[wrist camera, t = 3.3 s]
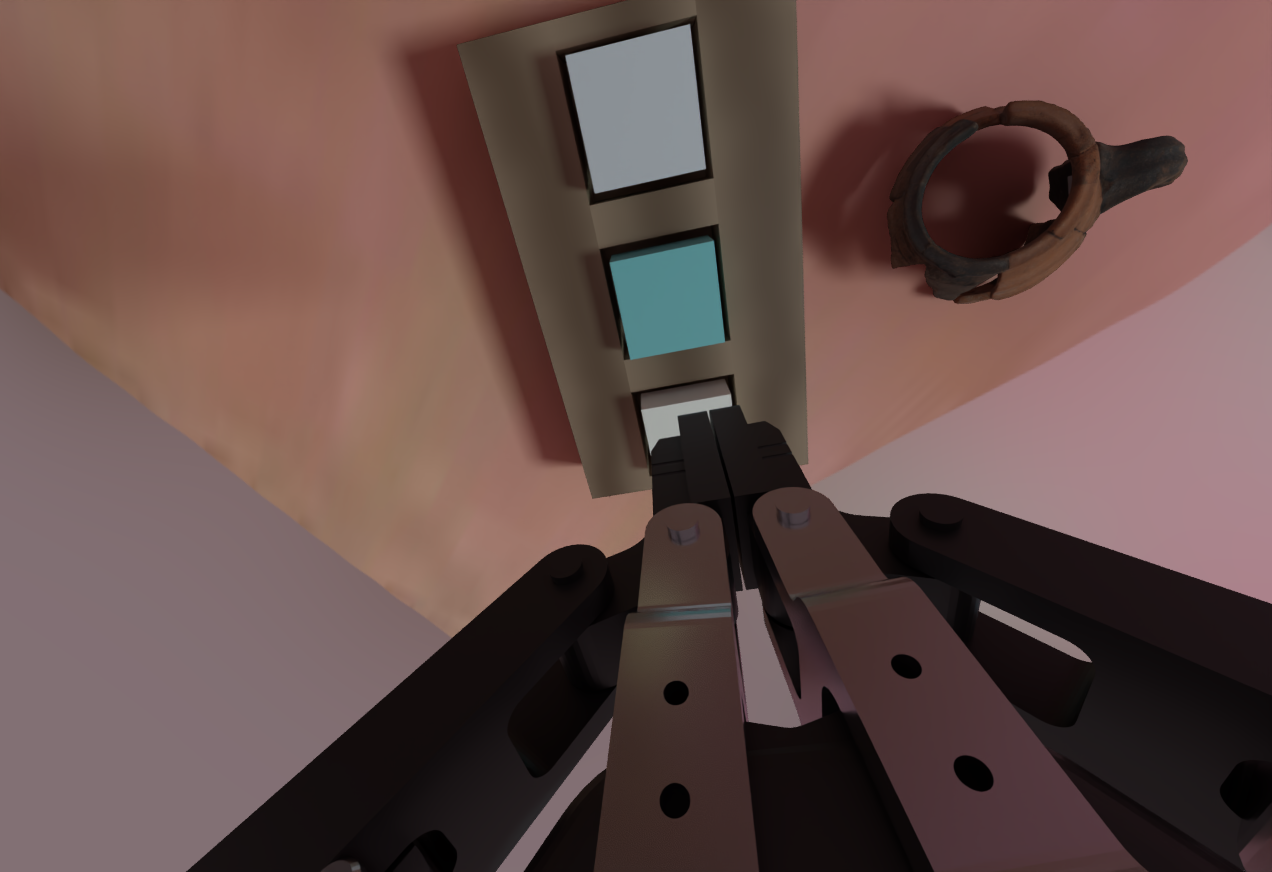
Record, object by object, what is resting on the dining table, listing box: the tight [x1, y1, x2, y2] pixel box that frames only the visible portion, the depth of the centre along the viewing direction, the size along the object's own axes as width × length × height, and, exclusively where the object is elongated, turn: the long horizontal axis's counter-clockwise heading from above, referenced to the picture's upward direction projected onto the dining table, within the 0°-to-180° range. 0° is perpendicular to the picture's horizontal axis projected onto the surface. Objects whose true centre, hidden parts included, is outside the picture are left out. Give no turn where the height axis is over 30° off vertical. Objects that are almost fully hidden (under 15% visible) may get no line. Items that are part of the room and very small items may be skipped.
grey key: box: [565, 24, 706, 193], centre depth 21 cm, size 5×5×2 cm
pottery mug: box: [887, 101, 1188, 304], centre depth 24 cm, size 12×10×8 cm
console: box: [457, 0, 808, 499], centre depth 27 cm, size 14×24×4 cm, turn 11°
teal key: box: [610, 235, 725, 360], centre depth 25 cm, size 5×5×2 cm
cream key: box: [641, 379, 732, 453], centre depth 29 cm, size 5×5×2 cm
